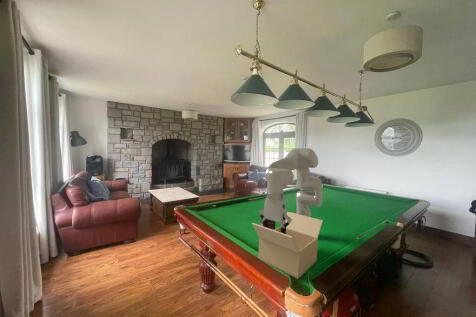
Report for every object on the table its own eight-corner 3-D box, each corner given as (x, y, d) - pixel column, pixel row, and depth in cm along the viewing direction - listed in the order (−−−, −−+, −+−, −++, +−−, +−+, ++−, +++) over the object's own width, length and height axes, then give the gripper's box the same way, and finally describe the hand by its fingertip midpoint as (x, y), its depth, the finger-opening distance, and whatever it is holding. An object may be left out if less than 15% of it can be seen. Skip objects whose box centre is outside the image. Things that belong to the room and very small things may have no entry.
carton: (280, 246, 112) (281, 226, 112) (316, 260, 97) (317, 238, 97) (258, 259, 96) (259, 236, 96) (297, 279, 81) (299, 252, 81)
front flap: (252, 222, 91) (251, 223, 91) (292, 236, 76) (291, 237, 76) (259, 236, 96) (259, 237, 96) (298, 251, 81) (298, 253, 81)
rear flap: (281, 226, 112) (281, 226, 112) (317, 238, 97) (317, 238, 97) (287, 211, 117) (287, 212, 117) (322, 220, 102) (322, 220, 102)
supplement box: (271, 241, 117) (272, 217, 117) (275, 245, 113) (276, 219, 113) (259, 243, 115) (260, 217, 115) (262, 246, 110) (263, 220, 110)
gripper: (295, 198, 82) (294, 235, 83) (264, 192, 94) (263, 224, 94) (287, 200, 77) (286, 241, 77) (255, 194, 89) (254, 228, 89)
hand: (273, 232), depth 86 cm, fingers open, 9 cm apart
